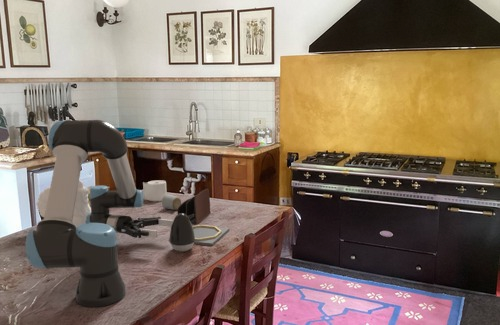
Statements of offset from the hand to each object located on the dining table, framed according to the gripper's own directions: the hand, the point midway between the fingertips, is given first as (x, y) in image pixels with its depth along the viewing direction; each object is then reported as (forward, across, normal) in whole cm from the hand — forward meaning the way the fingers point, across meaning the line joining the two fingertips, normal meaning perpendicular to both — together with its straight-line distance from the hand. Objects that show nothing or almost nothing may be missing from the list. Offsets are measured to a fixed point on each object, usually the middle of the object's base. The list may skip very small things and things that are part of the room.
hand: (165, 228), depth 185 cm
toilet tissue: (-42, -66, -8) cm, 78 cm away
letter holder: (-5, -39, -8) cm, 40 cm away
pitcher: (-60, -34, -8) cm, 69 cm away
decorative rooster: (-54, -6, -8) cm, 55 cm away
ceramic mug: (-24, -52, -8) cm, 58 cm away
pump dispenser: (+8, 0, -8) cm, 11 cm away
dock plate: (+8, -17, -8) cm, 20 cm away
